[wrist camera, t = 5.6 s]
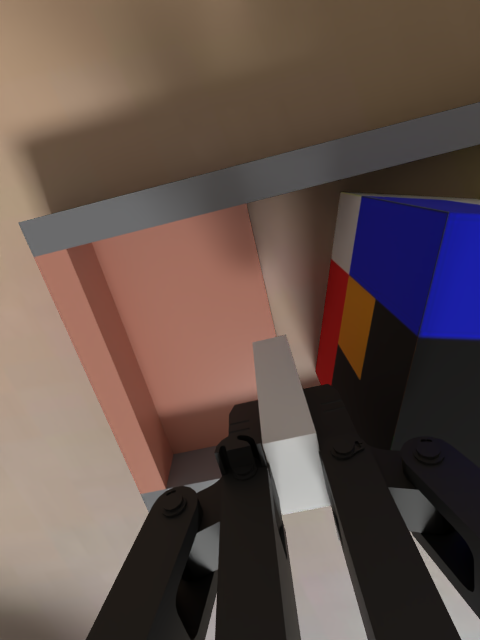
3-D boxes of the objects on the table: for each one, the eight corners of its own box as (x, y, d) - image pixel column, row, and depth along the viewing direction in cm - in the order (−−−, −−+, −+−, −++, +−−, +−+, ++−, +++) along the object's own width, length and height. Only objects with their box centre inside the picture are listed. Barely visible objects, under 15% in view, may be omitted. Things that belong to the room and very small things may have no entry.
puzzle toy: (340, 191, 18) (449, 211, 9) (538, 201, 19) (842, 231, 9) (315, 370, 22) (374, 516, 13) (481, 376, 22) (658, 523, 13)
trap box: (158, 474, 25) (141, 544, 20) (51, 214, 18) (-12, 229, 14) (691, 367, 22) (813, 419, 17) (771, 26, 16) (993, -34, 11)
